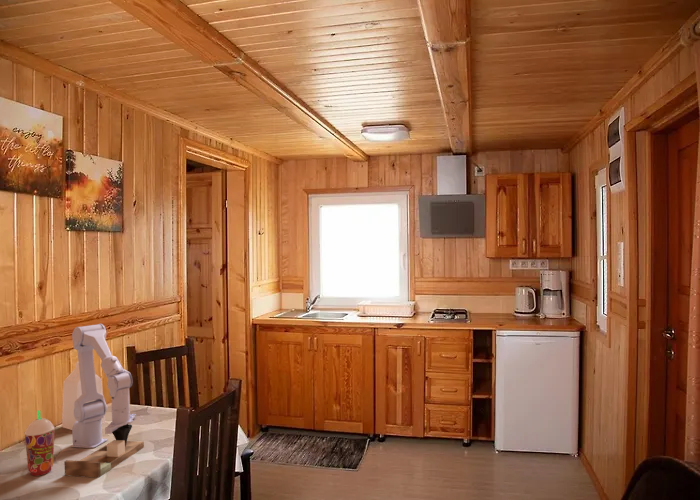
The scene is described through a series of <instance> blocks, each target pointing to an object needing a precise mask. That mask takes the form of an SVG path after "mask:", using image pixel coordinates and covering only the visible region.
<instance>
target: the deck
mask: <svg viewBox="0 0 700 500" xmlns="http://www.w3.org/2000/svg"><path fill="white" fill-rule="evenodd" d="M143 448H145V444H144V441H138V440H137V441H135V440H127V443H126V447H125V452H124V453H123V454H121V455H120V456H118V457H109V456H107V444H105V445H104V446H102V447H100V448H99V449H97V450H95V451H94V452H92V453H90V454H89V455H87V456H85V457H83V458H82V459H80V460H74V459H73V460H72V459H69V460H68V459H67V460H65V461H64V462H63V463H64V464H63V465H64V476H65V475H72V476H71V477H81V476H85V477H84V478H100V477H101V476H103V475H104V474H107V472H109V471H110V470H112V469H113V468H115V467H116V466H118V465H120V464H121V463H122V462H124V461H125V460H127V459H129V458H130V457H131V456H133V455H135V454H137V452H139V451H141V450H142V449H143Z"/></svg>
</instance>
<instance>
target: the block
mask: <svg viewBox="0 0 700 500" xmlns="http://www.w3.org/2000/svg"><path fill="white" fill-rule="evenodd" d="M106 445H107V456H109V457H118V456H120V455H121V454H123V453H124V452H125V440H116V439H114V440H112V441H110V442H108V443H106Z"/></svg>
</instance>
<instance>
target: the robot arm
mask: <svg viewBox="0 0 700 500" xmlns="http://www.w3.org/2000/svg"><path fill="white" fill-rule="evenodd" d="M71 338H72V347H73V350H77V362H79V371H80V381H81V391H82V395H81V396H80V397H79V398H78V399H77V400H76V401H75V402H74V417H75V419H76V420H77V421H76V422H75V423H74V425H73V428H72V430H71V432H72V445H71V446H70V447H71V448H83V449H85V448H86V449H87V448H88V449H94V448H96V447H98V446H101V445H102V444H104V443H105V442H107V441H108V440H109V439H108V438H103V424H102V418H103V416H104V415H105V416H106V413H107V410H108V405H107V403H106V401H105V400H106V399H105V396H104V394H103V395H102V394H100V393H98V392H97V388H96V378H95V374H96V371H95V362H94V361H95V360H94V354H93V353H94V351H95V352H96V354H97V355H98V357H99V359H100V360H101V362H100V367H101V368H102V371H103V373H104V374H105V376H106V378H107V382H106V384H107V388H108V391H109V397H110V399H111V422H110V423H109V424H108V425H107V427H105V428H104V429H105V430H104V433H105V435H106V434H107V435H108V434H109V435H111V434H112V435H113V437H114V440H125V447H126V443H127V441H128V438H129V434H130V432H131V430H132V428H133V424H132V423H133V422H134V421H136V420H137V414H136V413H131V405H130V403H131V402H130V388H131V387H132V386H133V383H134V382H133V376H132V374H131V372H130V371H128V370H127V369H124V368H123V366H122V363H121V362H120V361H119V358H118V357H117V356H116V355H113V354H112V352H111V350H110V347H109V345H108V343H107V339H106V338H107V328H106V326H105V325H104V324H103V323H98V324H91V325H84V326H75V328H74V329H73V331H72V333H71ZM93 400H96V401H93ZM89 401H92V402H89ZM86 402H88V403H86Z"/></svg>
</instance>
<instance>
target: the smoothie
mask: <svg viewBox="0 0 700 500" xmlns="http://www.w3.org/2000/svg"><path fill="white" fill-rule="evenodd" d="M55 428H56V427H55V426H54V424H53V423H52V422H51V420H49V419H47V418H45V417H41V410H40V409H39V410H37V419H34V420H32V421H31V422H30V423H29V424H28V425H27V427H26V430H25V431H24V432H23V433H24V439H25V440H24V441H25V450H26V459H27V460H26V461H27V469H28V472H29V473H30V474H29V475H31V476H35V477H38V476H43V475H45V474H48V473H50V472H51V470H52V467H54V454H55V452H54V449H55V447H54V446H55Z"/></svg>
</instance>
